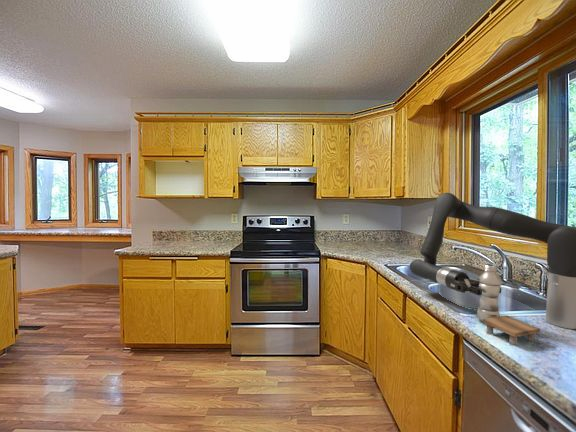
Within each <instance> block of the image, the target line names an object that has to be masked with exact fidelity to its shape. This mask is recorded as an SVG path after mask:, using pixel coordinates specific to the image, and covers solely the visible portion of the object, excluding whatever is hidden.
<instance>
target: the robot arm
mask: <svg viewBox="0 0 576 432" xmlns="http://www.w3.org/2000/svg"><path fill="white" fill-rule="evenodd" d="M433 207H434V208H433V211H432V216H431V220H430V223H429V227H428V230H427V233H426V235H425V238H424V241H423V244H422V246H421V248H420V251H419V252H420V254H421V256H423V257H424V258H423V259H424V260H421V259H414V260H412V261H411V262H410V263H409V271H410V272H411V274H413V275H414V276H417V277H418V278H421V279H424V280H429V281H432V282H433V283H437V284H439V285H441V286H443V287H444V288H445V287H446V288H447V289H451V290H453V291H456V292H461V293H463V294H464V293H468V294H470V293H471V294H474V295H477V296H479V297H480V295H482V289H480V286H479V278H477V279H475V278H472V277H471V278H470V277H469V275H468V274H467V273H466V272H463V271H461V270H456V269H453V268H450V267H444V266H440V265H437V257H438V254H439V251H440V249H441V246H442V244H443V240H444V233H445V225H446V222H447V219H448V218H452V219H458V220H462V221H467V222H470V223H472V224H474V225H477V226H479V227H481V228H485V229H488V230H491V231H494V232H497V233H501V234H503V235H507V236H512V237H519V238H524V239H525V238H526V239H530V240H531V239H532V240H536V241H539V242H542V243H544V244H547V245H546V248H547V249H546V252H547V253H546V259H547V260H546V263H547V266H548V274H547V291H546V293H547V294H546V307H545V321H546V322H548V323H549V324H552V325H553V326H556V327H560V328H564V329H569V330H576V226H571V225H566V224H559V223H554V222H548V221H545V220H541V219H538V218H535V217H531V216H530V215H526V214H522V213H519V212H516V211H513V210H509V209H506V208H501V207H497V206H477V205H474V204H470V203H468V202H464V201H462V200H461V199H459V198H458V197H457V196H456V195H455V194H453V193H452V192H444V193H441V194H440V195H439V196H438V197H437V198H436V199H435V203H434V206H433ZM501 293H502V287H501V288H500V292H499V294H501Z"/></svg>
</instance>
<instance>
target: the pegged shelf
mask: <svg viewBox="0 0 576 432" xmlns="http://www.w3.org/2000/svg"><path fill="white" fill-rule="evenodd" d="M482 323H483V324H485V325H486V334H487V335H494V329H496V330H498V331H499V332H503V333H505V334H507V335H509V343H508V344H509V345H511V346H514V347H516V346H518V337H523V336H524V337H525V336H526V341H527V342H530V343H536V334H539V333H541V328H540V327H537V326H533V325H532V324H529V323H527V322H524V321H521V320H519V319H516V318H514V317H512V316H511V317H510V316H508V315H502V316H501V315H500V317H494V318H487V319H483V322H482Z"/></svg>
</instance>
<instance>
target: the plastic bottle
mask: <svg viewBox="0 0 576 432" xmlns="http://www.w3.org/2000/svg"><path fill="white" fill-rule="evenodd" d="M483 266H484V267H483V270H484V271H483V273H482V274H480V276H479V277H478V279H479V288H480V289H482V295H480V296H479V300H478V301H479V302H478V307H477V311H476V316H477V319H478V320H479V321H480V322H482V323H483V319H487V318H494V317H500V316H501V315H500V310H499V299H500V298H499V297H500V293H499V292H500V288H501V289H502V286H501V285H502V279H501V277H500V276H499V275H498V273H497V272H498V265H496V264H493V263H492V264H490V263H484V264H483Z"/></svg>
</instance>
